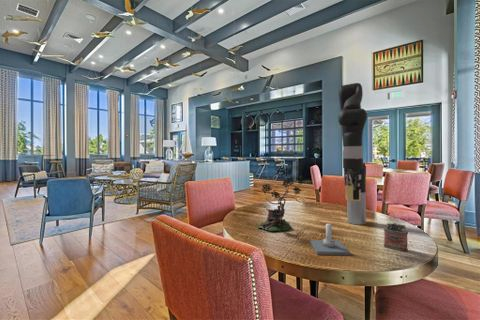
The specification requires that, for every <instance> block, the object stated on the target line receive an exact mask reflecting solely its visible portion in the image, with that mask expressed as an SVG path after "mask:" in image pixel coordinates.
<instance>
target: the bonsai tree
mask: <svg viewBox="0 0 480 320" xmlns="http://www.w3.org/2000/svg"><path fill="white" fill-rule="evenodd" d="M292 173H293V168H289V167H287V168H284V167H280V166H279V167H278V168H277V170H276V175H277V176H279V175H280V174H281V176H282V177H283V179H284V180H283V181H282V185H281V186H283V187H285V192H284V194H282V196H281V195H280V193H279V191H278V192H277V191H276V190H272V187H271V186H272V185H271V184H270V183H264V184H263V185H262V189H261V191H263V193H264V194H266V193H267V192H270V194H271V197H269V199H271V198H272V197H273V199H276V200H277V199H278V200H277V203H276V202H272V201H270V200H268V197H266V198H265V200H266V201H267V202H269V203H270V204H272V205H277V208H274V209H270V208H266V211H267V216H266V220H265V221H262V222H260V223H259V225H260V226H259V225H258V226H257V227H258V228H257V229H260V228H262V229H261V230H263V229H265V230H268V231H267V232H287V231H289V230H290V229H291V228H292V226H291V225H290V222H289V221H286V219H285V218H284V217H285V213H286V212H285V211H286V209H285V205H286V201H287V200H286V198H287V199H289V198H291V199H295V200H296V202H297V203H301V200H302V203H305V199H304V198H302V197H301V198H299V200H298V198H297V197H295V196H296V195H297V196H298V194H299V195H300V194H301V193H302V192H303V190H301V188H299V187H297V186H294V188H293V189H292V191H293V193H294V195H295V196H287V194H289V193H290V191H289V189H288V187H290V186H293V185H294V184H295V183H294V182H295V181H297V183H298V184H299V185H302V184H304V183H305V182H306V179H305V176H303V175H302V174H301V175H300V174H297V176H296V178H295V180H294V177H290V178H288V177H289V176H291V175H292ZM283 175H285V177H286V179H285V177H284V176H283ZM288 175H289V176H288ZM282 200H283V201H284V202H282ZM265 230H264V231H265ZM286 230H287V231H286Z"/></svg>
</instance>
